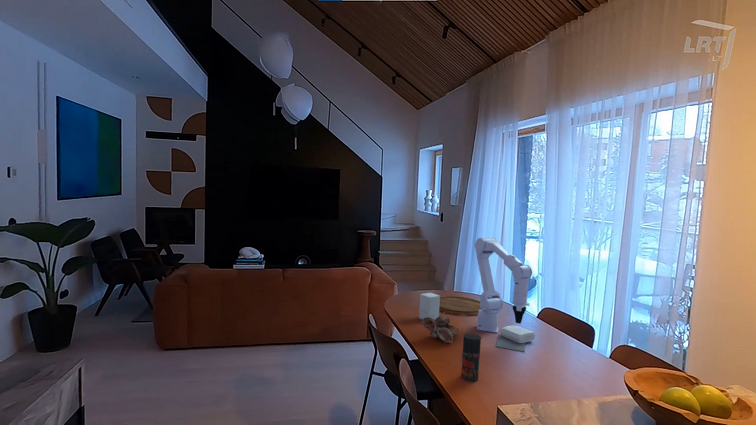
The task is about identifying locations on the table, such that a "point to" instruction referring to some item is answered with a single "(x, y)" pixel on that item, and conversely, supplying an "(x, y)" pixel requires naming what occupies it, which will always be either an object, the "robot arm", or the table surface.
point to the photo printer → (517, 334)
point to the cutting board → (459, 306)
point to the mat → (510, 344)
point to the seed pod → (441, 328)
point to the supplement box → (429, 306)
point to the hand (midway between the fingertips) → (518, 322)
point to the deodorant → (470, 357)
